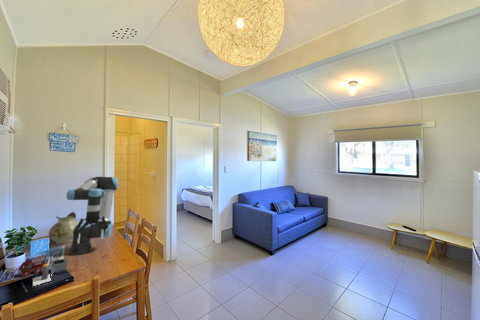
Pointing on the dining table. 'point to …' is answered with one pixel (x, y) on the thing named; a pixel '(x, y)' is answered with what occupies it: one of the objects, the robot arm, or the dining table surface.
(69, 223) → the pitcher
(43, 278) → the keeper
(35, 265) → the toy fire truck
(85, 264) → the dining table surface
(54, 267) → the link
